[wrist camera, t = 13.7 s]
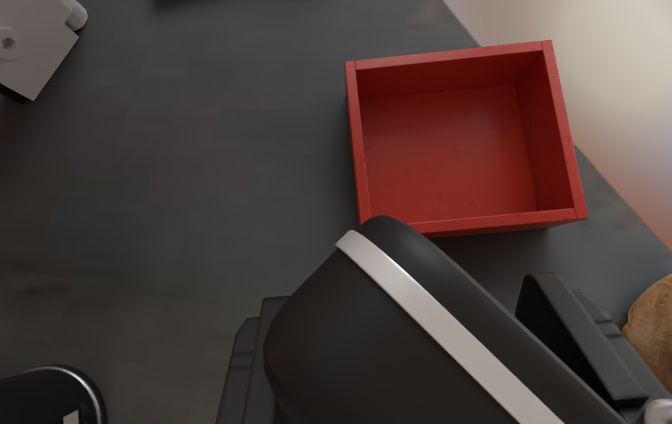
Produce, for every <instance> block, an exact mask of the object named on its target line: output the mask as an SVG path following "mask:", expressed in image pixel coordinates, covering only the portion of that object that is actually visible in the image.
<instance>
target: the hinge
mask: <svg viewBox="0 0 672 424" xmlns="http://www.w3.org/2000/svg"><path fill="white" fill-rule="evenodd" d="M87 19H88V16H87V12H86V10H85V9H84V8H83V7H82V6H81V5H80V4H79V3H78V2H77V1H76V0H0V93H1V94H3V95H5V96H7V97H9V98H11V99H13V100H15V101H16V102H18V103H20V104H23V102H24V101H25V100H26V98H29V99H30V100H32V101H34V100H35V99H36V97H37V96H38V94H39V93H40V92H41V90H42V89H43V87H44V86H45V85H46V83H47V82H48V80H49V79H50V78H51V76H52V75H53V73H54V72H55V71H56V69H57V68H58V66H59V65H60V64H61V62H62V61H63V59H64V58H65V57H66V55H67V54H68V52H69V51H70V50H71V48H72V47H73V45H74V44H75V43H76V41H77V40H78V38H79V36H77V35H76V34H75V33H74V32H73V31H75V30H78V29H80V28H81V27H83V26H84V24H85V23H86V21H87Z"/></svg>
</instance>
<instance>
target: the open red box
mask: <svg viewBox="0 0 672 424" xmlns="http://www.w3.org/2000/svg"><path fill="white" fill-rule="evenodd" d="M344 66H345V88H346V102H347V112H348V122H349V133H350V143H351V153H352V163H353V173H354V184H355V194H356V204H357V214H358V224H359V226H360V225H361V224H362V223H364V222H365V221H366V220H368V219H369V218H372V217H375V216H379V215H386V216H390V217H393V218H396V219H399V220H401V221H403V222H404V223H406V224H407V225H409V226H411V227H412V228H414V229H416V230H417V231H418V232H419V233H421V234H422V235H423V236H425V237H426V238H427V239H433V238H444V237H455V236H466V235H477V234H488V233H499V232H510V231H521V230H532V229H543V228H550V227H555V226H559V225H563V224H567V223H571V222H575V221H579V220H583V219H587V218H588V214H587V209H586V204H585V200H584V195H583V190H582V185H581V180H580V175H579V171H578V166H577V161H576V156H575V151H574V146H573V141H572V137H571V132H570V128H569V122H568V117H567V112H566V107H565V103H564V98H563V93H562V88H561V84H560V78H559V73H558V69H557V64H556V59H555V54H554V50H553V44H552V40H545V41H535V42H526V43H517V44H507V45H498V46H489V47H479V48H470V49H461V50H451V51H442V52H433V53H423V54H414V55H405V56H395V57H386V58H376V59H367V60H358V61H355V62H354V61H350V62H345V63H344Z"/></svg>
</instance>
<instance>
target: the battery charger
mask: <svg viewBox="0 0 672 424" xmlns="http://www.w3.org/2000/svg"><path fill="white" fill-rule="evenodd" d="M335 246H336V248H337V250H336V251H335V252H334V253H333V254H332V255H331V256H330V257H329V258H328V259H327V260H326V261H325V262H324V263H323V264H322V265H321V266H320V267H319V268H318V269H317V270H316V271H315V272H314V273H313V274H312V275H311V276H310V277H309V278H308V279H307V280H306V281H305V282H304V283H303V284H302V285H301V286H300V287H299V288H298V289H297V290H296V291H295V292H294V293H293V294H292V295H291V296H290V297H289V298H288V300H287V301H286V302H285V304H284V305H283V306H282V307H281V309H280V310H279V311H278V312H277V314H276V315H275V316H274V318H273V320H272V322H271V325H270V327H269V330H268V332H267V335H266V338H265V340H264V343H263V364H264V371H265V375H266V377H267V380H268V382H269V384H270V386H271V389H272V391H273V393H274V395H275V397H276V399H277V401H278V403H279V404H280V405H281V407H282V408H283V410H284V411H285V413H286V414H287V415H288V416H289V418H290V419H291V420H292V421H293V422H294V424H628V423H627V422H626V421H625V420H624V419H623V418H622V417H621V416H620V415H619V414H618V413H617V412H616V411H615V410H613V409H612V408H611V407H610V406H609V405H608V404H607V403H606V402H605V401H604V400H603V399H602V398H601V397H600V396H599V395H598V394H597V393H595V392H594V391H593V390H592V389H591V388H590V387H589V386H588V385H587V384H586V383H585V382H584V381H583V380H582V379H581V378H580V377H579V376H577V375H576V374H575V373H574V372H573V371H572V370H571V369H570V368H569V367H568V366H567V365H566V364H565V363H564V362H563V361H562V360H560V359H559V358H558V357H557V356H556V355H555V354H554V353H553V352H552V351H551V350H550V349H549V348H548V347H547V346H546V345H544V344H543V343H542V342H541V341H540V340H539V339H538V338H537V337H536V336H535V335H534V334H533V333H531V332H530V331H529V330H528V329H527V328H526V327H525V326H524V325H523V324H522V323H521V322H520V321H519V320H517V319H516V318H515V317H514V316H513V315H512V314H511V313H510V312H509V311H508V310H507V309H506V308H504V307H503V306H502V305H501V304H500V303H499V302H498V301H497V300H496V299H495V298H494V297H493V296H491V295H490V294H489V293H488V292H487V291H486V290H485V289H484V288H483V287H482V286H481V285H480V284H478V283H477V282H476V281H475V280H474V279H473V278H472V277H471V276H470V275H469V274H468V273H467V272H466V271H464V270H463V269H462V268H461V267H460V266H459V265H458V264H457V263H455V262H454V261H453V260H452V259H451V258H450V257H449V256H448V255H446V254H445V253H444V252H443V251H442V250H441V249H440V248H438V247H437V246H436V245H435V244H434V243H432V242H431V241H430V240H428V239H427V238H426V237H425V236H423V235H422V234H421V233H419V232H418V231H417V230H416V229H414V228H412V227H411V226H409V225H407V224H406V223H404V222H403V221H401V220H399V219H396V218H393V217H390V216H386V215H379V216H375V217H372V218H369V219H368V220H366V221H365V222H364V223H362V224H361V225H360V226H359V227H358V228H357V229H356V230H355V231H354V230H350V231H348V232H347V233H346V234H345V235H344V236H343V237H342V238H341V239H340V240H339V241H338V242H337V243H336V244H335Z"/></svg>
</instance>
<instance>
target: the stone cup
mask: <svg viewBox="0 0 672 424" xmlns="http://www.w3.org/2000/svg"><path fill="white" fill-rule="evenodd" d="M622 334H623V337H624V338H626V339H627V340H628V341H629V343H630V344H631V345H632V346H633V348H634V349H635V350H636V351H637V353H638V354H639V355H640V357H641V358H642V359H643V360H644V362H645V363H646V364H647V365H648V367H649V368H650V369H651V370H652V372H653V373H654V374H655V376H656V377H657V378H658V379H659V381H660V382H661V383H662V384H663V386H664V387H665V388H666V389H667V391H668V392H669V393H670V394H671V395H672V274H669V275H667V276H665V277H663V278H662V279H660V280H658V281H657V282H655V283H654V284H652V285H651V286H650V287H649V288H647V289H646V291H645V292H644V293H643V294H642V295H641V296H640V297H639V298H638V299H637V300H636V301H635V302H634V303H633V304H632V306H631V308H630V310H629V313H628V323H627V324H626V325H625V326H624V327H623V328H622Z"/></svg>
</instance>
